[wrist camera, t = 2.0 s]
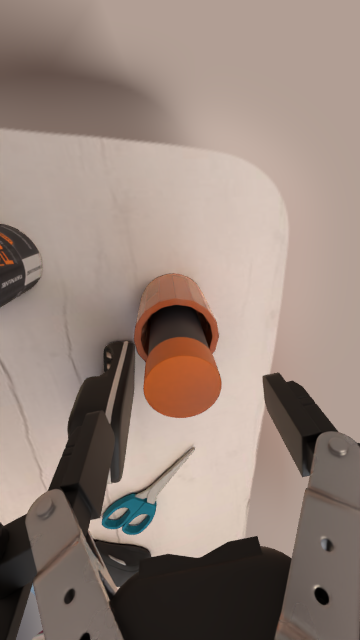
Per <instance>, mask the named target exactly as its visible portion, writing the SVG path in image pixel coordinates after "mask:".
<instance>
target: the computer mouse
mask: <svg viewBox="0 0 360 640" xmlns="http://www.w3.org/2000/svg"><path fill="white" fill-rule="evenodd" d="M95 545H96V547H97V549H98V551H99V553H100V556H101V558H102V560H103V562H104V564H105V566H106V569H107V571H108V573H109V575H110V577H111V578H112V580H113V582H114V584H115V585H116V587H121V586H122V585H123V584H124V583H125V582H126V581H127V580H128V579H129V578H130V577H131V576H133V575H134V574H135V573H137V572H139V563H140V560H141V559H146V558H151V555H150V553H149V551H148V550H146V549H143V548H140V547H136V546H128V545H115V544H109V543H104V542H99V541H98V542H96V543H95Z"/></svg>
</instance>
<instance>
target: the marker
mask: <svg viewBox="0 0 360 640" xmlns="http://www.w3.org/2000/svg"><path fill="white" fill-rule="evenodd" d="M143 389H144V395H145V398H146V400H147V402H148V403H149V405H150V406H151V407H152V408H153V409H154V410H156V411H157V412H159V413H161V414H163V415H166V416H169V417H175V418H186V417H191V416H195V415H198V414H200V413H202V412H204V411H206V410H207V409H208V408H210V407H211V406H212V405H213V404H214V403H215V401H216V400H217V398H218V397H219V394H220V391H221V378H220V374H219V371H218V369H217V366H216V363H215V360H214V357H213V355H212V353H211V351H210V350H209V347H208V345H207V342H206V339H205V336H204V333H203V330H202V327H201V324H200V321H199V318H198V315H197V312H196V310H195V309H193V308H192V307H189V306H182V305H172V306H168V307H163V308H161V309H159V310H158V311H156V312H155V313H153V314H152V315H151V326H150V338H149V350H148V358H147V360H146V366H145V376H144V388H143Z"/></svg>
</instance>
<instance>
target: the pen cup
mask: <svg viewBox="0 0 360 640" xmlns="http://www.w3.org/2000/svg"><path fill="white" fill-rule="evenodd" d="M172 305H182V306H189V307H192V308H193V309H195V310H196V312H197V315H198V318H199V321H200V324H201V327H202V330H203V333H204V336H205V339H206V342H207V345H208V347H209V350H210V351H211V353H212V354H213V352H214V351H215V349H216V345H217V342H218V338H219V333H218V327H217V322H216V320H215V318H214V316H213V313H212V311H211V309H210V307H209V305H208V303H207V301H206V299H205V297H204V295H203V293H202V291H201V290H200V288H199V286H198V285H197V284H196V283H195V282H194V281H193V280H191V279H190V278H188V277H186V276H183V275H180V274H166V275H162V276H160V277H157V278H156V279H154V280H153V281H152V282H150V283H149V284H148V286H147V287H146V288H145V290H144V292H143V295H142V297H141V302H140V306H139V311H138V316H137V321H136V326H135V334H134V343H135V345H136V348H137V351H138V354H139V355H140V356H141V357H142V359H143V360H144V361H145V362H146V360H147V358H148V350H149V338H150V326H151V315H152V314H153V313H155V312H156V311H158V310H159V309H161V308H163V307H168V306H172Z"/></svg>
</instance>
